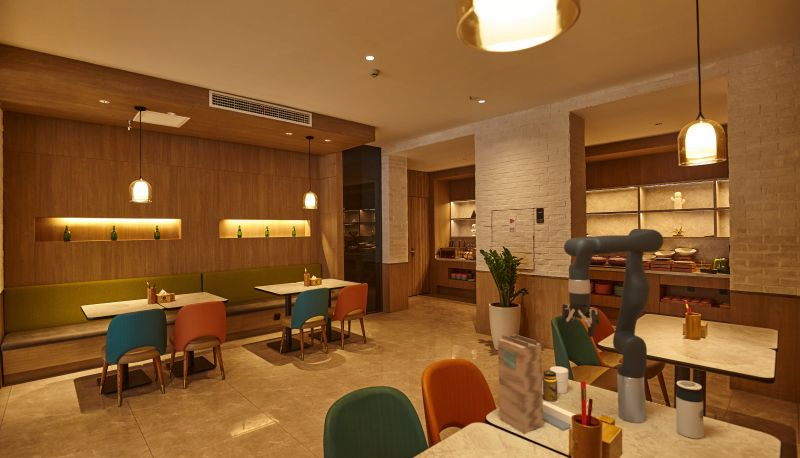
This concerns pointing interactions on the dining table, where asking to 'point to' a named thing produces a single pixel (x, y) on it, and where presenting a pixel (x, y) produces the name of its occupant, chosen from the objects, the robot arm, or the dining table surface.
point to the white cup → (561, 379)
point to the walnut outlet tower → (520, 382)
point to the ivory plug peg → (557, 412)
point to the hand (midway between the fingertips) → (580, 334)
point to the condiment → (550, 387)
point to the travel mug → (689, 409)
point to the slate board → (556, 422)
